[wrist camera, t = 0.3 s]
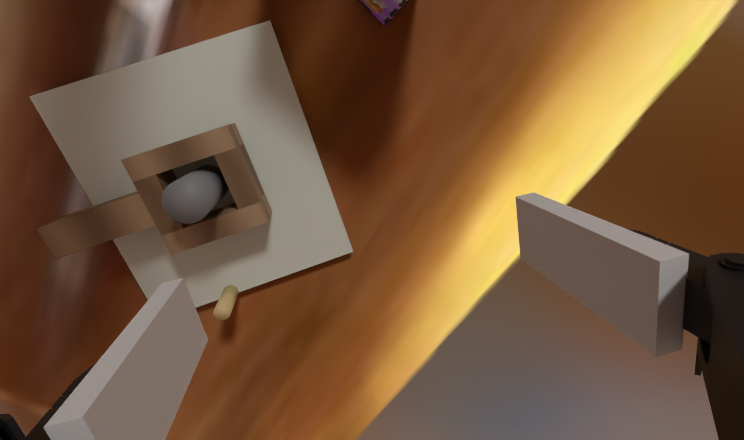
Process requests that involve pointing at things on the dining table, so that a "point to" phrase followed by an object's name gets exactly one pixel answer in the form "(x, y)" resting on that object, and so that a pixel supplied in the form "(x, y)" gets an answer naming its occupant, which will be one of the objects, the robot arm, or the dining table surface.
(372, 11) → the candy box
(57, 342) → the dining table surface
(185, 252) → the post board
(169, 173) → the wooden frame with handle
